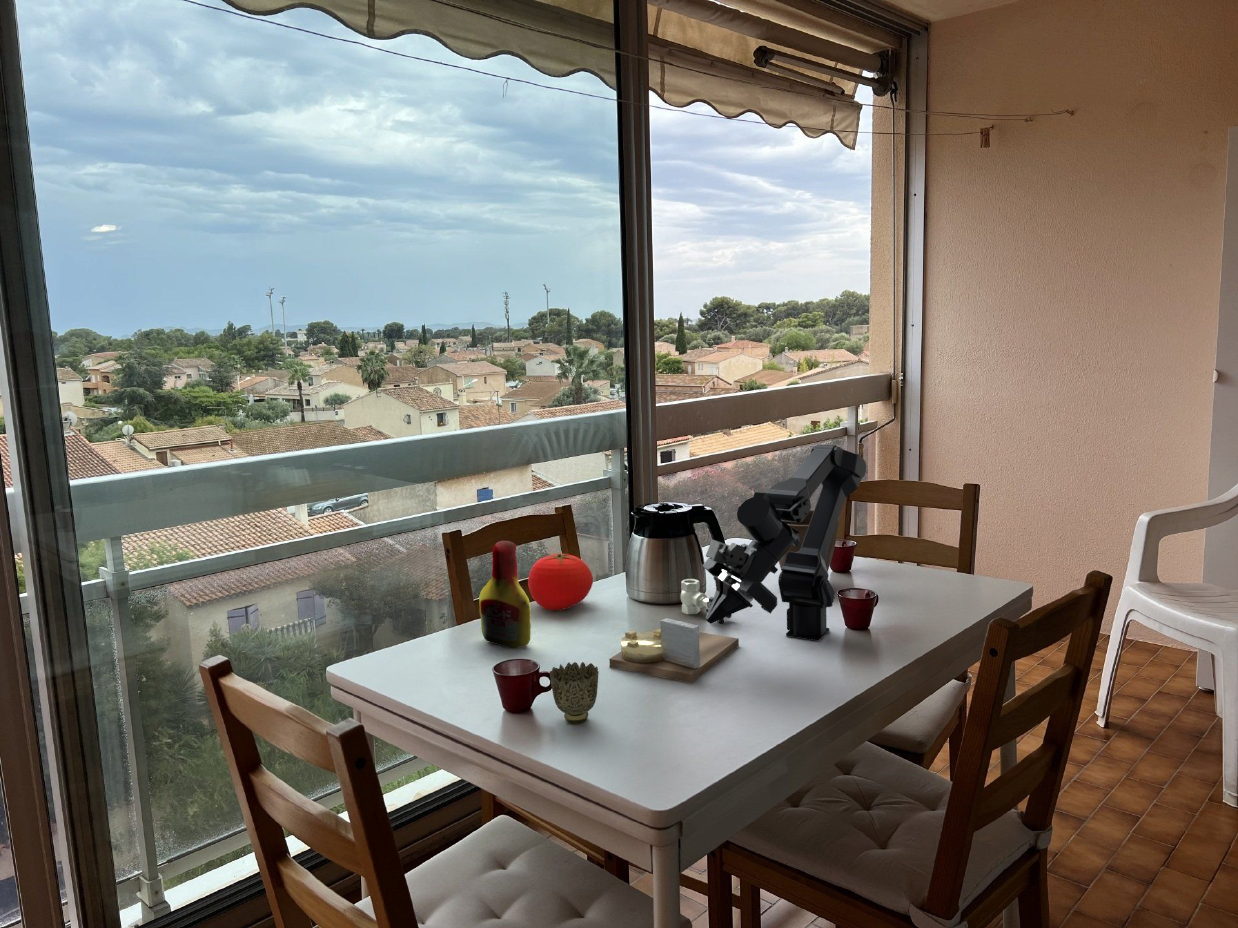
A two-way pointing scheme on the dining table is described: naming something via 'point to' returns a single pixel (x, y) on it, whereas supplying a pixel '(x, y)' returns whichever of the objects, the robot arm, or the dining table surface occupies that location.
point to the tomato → (559, 581)
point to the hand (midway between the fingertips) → (707, 621)
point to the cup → (575, 690)
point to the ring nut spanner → (664, 644)
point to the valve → (695, 598)
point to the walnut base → (710, 654)
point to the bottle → (505, 601)
